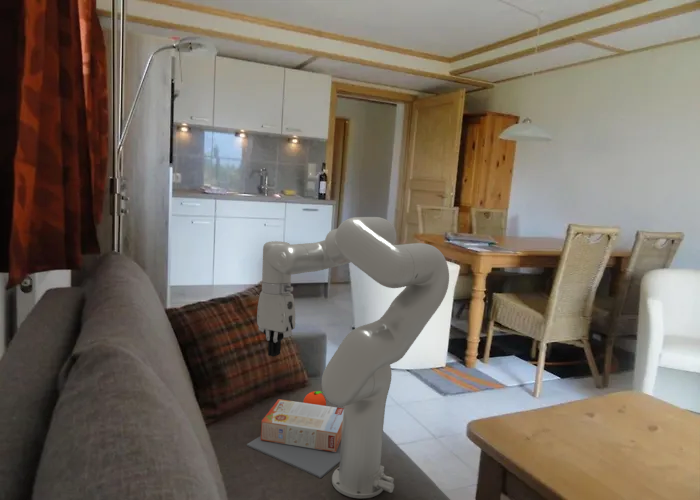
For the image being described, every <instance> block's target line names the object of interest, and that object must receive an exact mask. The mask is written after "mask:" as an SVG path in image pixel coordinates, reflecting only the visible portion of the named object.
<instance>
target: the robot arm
mask: <svg viewBox="0 0 700 500" xmlns="http://www.w3.org/2000/svg"><path fill="white" fill-rule="evenodd" d="M396 240H397V231H396V228H395V226H394V225H393V224H392V222H391V221H389V220H388V219H386V218H383V217H379V216H355V217H354V216H353V217H349V218H348V219H345V220H344V221H342V222H341V223H340V224H339V226H338V227H337V228H333V229H331V230H330V231H329V232H327V234H326V235H325V239H324V240H321V241H317V242H309V243H308V242H307V243H305V242H304V243H293V244H290V242H289V243H288V241H287V242H286V241H279V240H278V241H277V240H275V241H274V240H273V241H272V240H271V241H266V242H265V243H264V245H263V247H262V271H261V272H262V276H261V279H262V280H261V281H262V283H261V291H260V293H259V297H258V302H257V311H256V312H257V313H256V323H257V326H258V331H260V332H261V333H264V335H265V339H266V341H267V342H268V348H267V349H268V351H267V356H270V357H272V358H274V357H276V356H279V355H281V350H282V349H281V347H282V341H283V340H284V338H290V337H292V336H293V331H292V330H295V329H296V306H295V300H294V295H293V293H292V292H293V291H294V287H293V286H291V285H292V283H291V282H292V275H299V274H304V273H315V272H319V271H324V270H329V269H332V268H337V267H339V266H340V267H341V266H343V265H346V264H347V265H348V264H350V263H351V264H352V265H354V266H355V267H357V268H358V269H359V270H360V271H362V272H363V273H365V274H366V275H367V276H368V277H370V278H371V279H372V280H373V281H375V282H376V283H378V284H379V285H380V286H383V287H386V288H388V289H400V288H404V289H403V290H402V291H401V292H400V293H399V294H397V296H396V297H395V298H394V299H393V300H392V302H391V303H390V305H389V306H388V308H387V310H386V311H385V312H384V314H383V315H382V316H381V317H380V318H379V319H377V320H375V321H373V322H371V323H370V322H369V323H367V324H366V323H365V324H363V325H360V326H358V327H356V328H353V330H351V331H350V332H348V334H347V335H346V336H345V337H344V339H343V340H342V341H341V342H340V344H339V346H338V347H337V349H336V351H334V354H333V355H332V356H331V358H330V360H329V361H328V363H327V364H326V367H325V369H324V370H323V373H322V375H321V389H322V391H321V392H323V393H322V395H323V396H324V397H325V399H326V401H328V402H329V403H330V404H332V405H334V406H335V407H336V406H337V407H343V408H344V411H343V422H342V437H341V451H340V463H339V467H337V468H336V469H335V470H334V471H333V472H332V475H331V485H333V487H334V489H335V490H336V491H337V492H338V493H340V494H342V495H344V496H346V497H348V498H353V499H358V500H359V499H363V500H364V499H371V498H373V497H377V496H378V495H380V494H381V493H382V492H383V491H385V492H388V493H393V491H394V488H395V484H394V480H395V479H394V477H391V476H389V475H387V474H385V466H384V465H382V464H381V460H382V448H383V446H382V445H383V438H384V437H383V436H384V435H383V433H384V425H385V412H386V411H385V410H386V403H387V399H388V395H389V391H390V387H391V384H392V383H391V382H392V374H393V373H392V367H391V366H392V364H395V363H397V362H399V361H400V360H401V359H402V358H404V356H405V355H406V354H407V353H408V351H410V350H409V349H410V348H411V346H412V345H413V344H414V343H415V342H416V340H417V338H419V336H420V334H422V331H423V330H424V328H425V327H426V326H427V324H428V323H429V321H430V320H431V319H432V317H433V316H434V314H435V313H436V312H437V311H438V309H439V308H440V306H441V304H442V303H443V301H444V299H445V297H446V294H447V293H448V288H449V284H450V283H449V282H450V271H449V270H450V269H449V265H448V262H447V260H446V257H445V256H444V254H443V253H442V251H440V249H438V248H437V247H436V246H434V245H431V244H428V243H423V242H415V243H413V242H412V243H405V244H395V243H396Z"/></svg>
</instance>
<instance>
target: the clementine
mask: <svg viewBox="0 0 700 500" xmlns="http://www.w3.org/2000/svg"><path fill="white" fill-rule="evenodd" d="M302 403H309V404H316V405H323V406H327V399H326V397H325V396H324V394H323V391H321V390H319V391H317V390H316V391H310V392H309V393H307V394H306V395H305V397H304V398H303V402H302Z"/></svg>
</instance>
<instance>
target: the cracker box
mask: <svg viewBox="0 0 700 500" xmlns="http://www.w3.org/2000/svg"><path fill="white" fill-rule="evenodd" d="M343 411H344V407H338V406H337V407H336V406H328V405H326V406H323V405H316V404H309V403H303V402H301V401H293V400H288V399H280V398H279V399H277V401H276V402H275V403H274V404H273V406H272V407H271V408H270V409H269V411H268V412H267V413H266V414H265V416H264V417H263V418H262V419H261V421H260V422H261V424H260V426H261V427H260V436H261V440H263V441H269V442H275V443H282V444H288V445H294V446H300V447H306V448H312V449H318V450H324V451H330V452H336V451H337V448H338V446H339V443H340V441H341V437H342V422H343Z"/></svg>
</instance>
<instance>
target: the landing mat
mask: <svg viewBox="0 0 700 500" xmlns="http://www.w3.org/2000/svg"><path fill="white" fill-rule="evenodd" d="M246 446H247V447H249V448H250V449H252V450H255V451H258V452H259V453H263V454H264V455H267V456H269V457H270V458H271V457H272V458H274V459H275V460H278V461H279V462H280V461H281V462H282V463H284V464H288V465H289V466H291V467H294V468H296V469H298V470H300V471H303V472H305V473H308V474H310V475H312V476H314V477H317V478H318V479H322V478H323V477H324V476H326V475H327V474H328V473H329V472H331V471H332V470H333V469H334V468H335V467H336V466H338V464H339V465H340V451H341V441H340V443H339V446H338V448H337V451H336V452H330V451H324V450H318V449H312V448H306V447H300V446H294V445H288V444H282V443H275V442H269V441H263V440H261V435H260V436H258V437H256V438H255V439H253V440H251V441H250V442H249V443H248V442H247V444H246Z"/></svg>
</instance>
